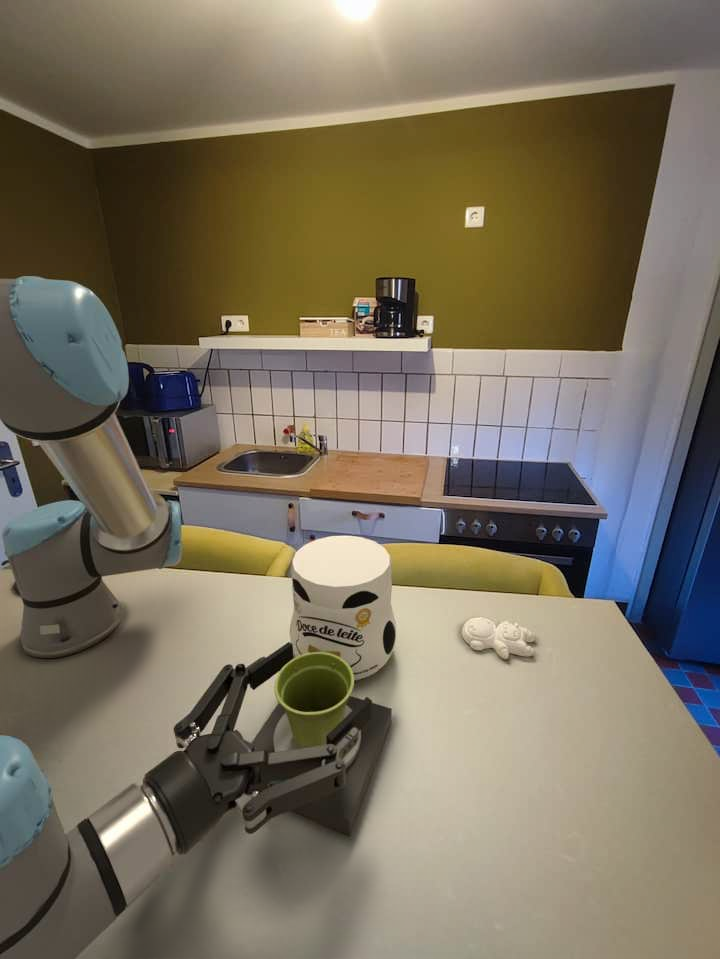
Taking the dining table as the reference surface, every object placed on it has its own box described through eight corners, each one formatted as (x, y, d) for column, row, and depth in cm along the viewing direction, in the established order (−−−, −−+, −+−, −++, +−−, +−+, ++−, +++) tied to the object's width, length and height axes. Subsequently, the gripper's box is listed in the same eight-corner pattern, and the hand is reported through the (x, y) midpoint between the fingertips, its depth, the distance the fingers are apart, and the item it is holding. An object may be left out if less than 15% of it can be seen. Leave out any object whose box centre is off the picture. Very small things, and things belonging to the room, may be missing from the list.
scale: (234, 785, 51) (231, 766, 50) (296, 690, 64) (294, 673, 63) (350, 836, 46) (349, 816, 45) (391, 722, 59) (392, 704, 58)
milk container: (302, 707, 62) (295, 602, 55) (284, 629, 77) (277, 541, 71) (412, 677, 67) (417, 578, 60) (374, 610, 82) (375, 526, 76)
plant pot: (345, 777, 49) (343, 720, 46) (267, 761, 51) (261, 706, 48) (361, 708, 57) (361, 657, 54) (294, 697, 59) (290, 647, 56)
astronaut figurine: (530, 669, 68) (533, 653, 67) (456, 644, 73) (457, 630, 72) (537, 635, 75) (539, 621, 74) (469, 615, 81) (470, 601, 80)
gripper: (111, 760, 47) (267, 653, 62) (244, 971, 32) (409, 761, 47) (96, 709, 44) (262, 610, 59) (233, 912, 29) (411, 710, 44)
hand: (327, 676), depth 53 cm, fingers open, 13 cm apart
